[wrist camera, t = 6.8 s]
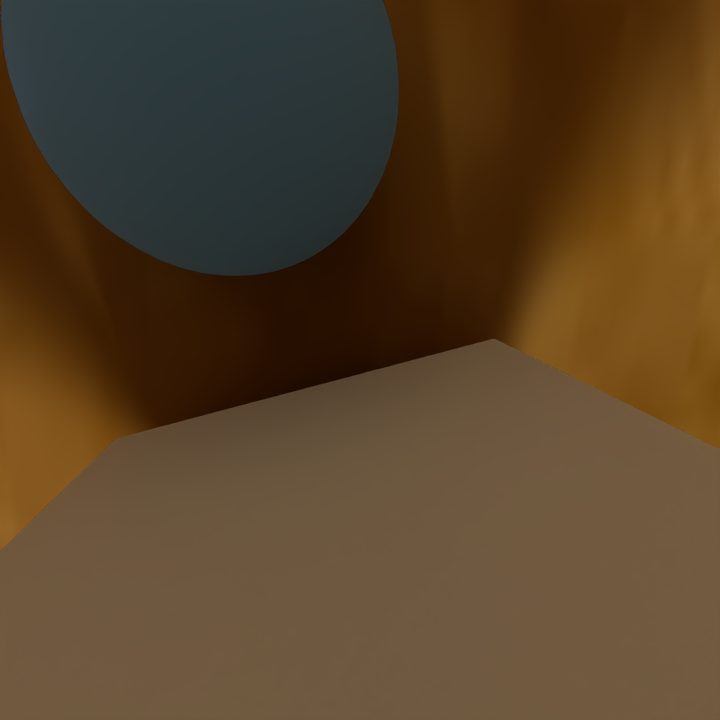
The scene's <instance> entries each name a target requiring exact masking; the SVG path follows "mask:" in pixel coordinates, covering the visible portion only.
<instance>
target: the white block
mask: <svg viewBox="0 0 720 720" xmlns="http://www.w3.org/2000/svg"><path fill="white" fill-rule="evenodd" d="M0 720H720V450H719V449H717V448H715V447H713V446H711V445H709V444H707V443H705V442H703V441H701V440H699V439H697V438H695V437H693V436H691V435H689V434H687V433H685V432H683V431H681V430H679V429H677V428H675V427H673V426H671V425H669V424H667V423H665V422H663V421H661V420H659V419H657V418H654V417H652V416H650V415H648V414H646V413H644V412H642V411H640V410H638V409H636V408H634V407H632V406H630V405H628V404H626V403H624V402H622V401H620V400H618V399H616V398H614V397H612V396H610V395H608V394H606V393H604V392H602V391H600V390H598V389H596V388H594V387H592V386H590V385H588V384H586V383H583V382H581V381H579V380H577V379H575V378H573V377H571V376H569V375H567V374H565V373H563V372H561V371H559V370H557V369H555V368H553V367H551V366H549V365H547V364H545V363H543V362H541V361H539V360H537V359H535V358H533V357H531V356H529V355H527V354H525V353H523V352H521V351H519V350H517V349H514V348H512V347H510V346H508V345H506V344H504V343H502V342H500V341H498V340H496V339H491V340H487V341H483V342H479V343H475V344H472V345H468V346H464V347H460V348H457V349H453V350H449V351H445V352H441V353H438V354H434V355H430V356H426V357H422V358H419V359H415V360H411V361H407V362H404V363H400V364H396V365H392V366H388V367H385V368H381V369H377V370H373V371H369V372H366V373H362V374H358V375H354V376H351V377H347V378H343V379H339V380H335V381H332V382H328V383H324V384H320V385H316V386H313V387H309V388H305V389H301V390H298V391H294V392H290V393H286V394H282V395H279V396H275V397H271V398H267V399H263V400H260V401H256V402H252V403H248V404H245V405H241V406H237V407H233V408H229V409H226V410H222V411H218V412H214V413H210V414H207V415H203V416H199V417H195V418H192V419H188V420H184V421H180V422H176V423H173V424H169V425H165V426H161V427H157V428H154V429H150V430H146V431H142V432H139V433H135V434H131V435H127V436H123V437H120V438H116V439H115V440H114V441H113V442H112V443H111V444H110V445H109V446H108V447H107V448H106V449H105V450H104V451H103V452H102V453H101V454H100V455H99V456H98V457H97V458H96V459H95V460H94V461H93V462H92V463H91V464H90V465H89V466H88V467H87V468H86V469H84V470H83V471H82V472H81V473H80V474H79V475H78V476H77V477H76V478H75V479H74V480H73V481H72V482H71V483H70V484H69V485H68V486H67V487H66V488H65V489H64V490H63V491H62V492H61V493H60V494H59V495H58V496H57V497H56V498H55V499H54V500H52V501H51V502H50V503H49V504H48V505H47V506H46V507H45V508H44V509H43V510H42V511H41V512H40V513H39V514H38V515H37V516H36V517H35V518H34V519H33V520H32V521H31V522H30V523H29V524H28V525H27V526H26V527H25V528H24V529H23V530H22V531H20V532H19V533H18V534H17V535H16V536H15V537H14V538H13V539H12V540H11V541H10V542H9V543H8V544H7V545H6V546H5V547H4V548H3V549H2V550H1V551H0Z"/></svg>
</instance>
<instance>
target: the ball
mask: <svg viewBox="0 0 720 720" xmlns="http://www.w3.org/2000/svg"><path fill="white" fill-rule="evenodd" d="M1 25H2V37H3V48H4V53H5V58H6V63H7V68H8V73H9V77H10V80H11V83H12V86H13V89H14V92H15V96H16V99H17V102H18V105H19V107H20V110H21V113H22V115H23V118H24V120H25V122H26V124H27V126H28V128H29V131H30V133H31V135H32V137H33V139H34V141H35V143H36V145H37V146H38V148H39V150H40V151H41V153H42V155H43V156H44V158H45V160H46V161H47V163H48V165H49V166H50V167H51V169H52V170H53V171H54V173H55V174H56V175H57V177H58V178H59V179H60V181H61V182H62V183H63V184H64V186H65V187H66V188H67V190H68V191H69V192H70V193H71V194H72V196H73V197H74V198H75V199H76V200H77V201H78V202H79V203H80V204H81V205H82V206H83V207H84V208H85V209H86V210H87V211H88V212H89V213H90V214H91V215H92V216H93V217H94V218H95V219H96V220H98V221H99V222H100V223H101V224H102V225H104V226H105V227H106V228H107V229H108V230H110V231H111V232H112V233H114V234H115V235H117V236H118V237H120V238H121V239H123V240H124V241H126V242H127V243H129V244H131V245H132V246H134V247H135V248H137V249H139V250H141V251H143V252H145V253H147V254H149V255H151V256H153V257H155V258H157V259H159V260H161V261H163V262H166V263H169V264H172V265H174V266H177V267H180V268H183V269H187V270H191V271H196V272H200V273H205V274H214V275H224V276H245V275H257V274H263V273H269V272H274V271H277V270H281V269H284V268H287V267H290V266H293V265H295V264H297V263H300V262H302V261H304V260H306V259H308V258H310V257H312V256H314V255H315V254H317V253H318V252H320V251H322V250H323V249H325V248H326V247H328V246H329V245H330V244H331V243H333V242H334V241H335V240H336V239H337V238H339V237H340V236H341V235H342V234H343V233H344V232H345V231H346V230H347V229H348V228H349V227H350V226H351V225H352V223H353V222H354V221H355V220H356V219H357V218H358V217H359V215H360V214H361V212H362V211H363V209H364V208H365V207H366V205H367V204H368V202H369V201H370V199H371V197H372V195H373V193H374V191H375V189H376V188H377V186H378V184H379V182H380V180H381V178H382V176H383V173H384V170H385V168H386V165H387V162H388V159H389V157H390V154H391V150H392V145H393V141H394V137H395V133H396V126H397V117H398V108H399V71H398V63H397V54H396V46H395V41H394V37H393V33H392V29H391V24H390V20H389V17H388V14H387V11H386V8H385V5H384V3H383V0H2V6H1Z"/></svg>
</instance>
